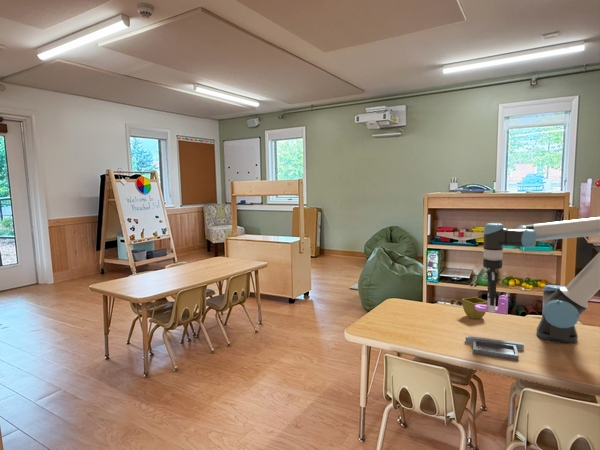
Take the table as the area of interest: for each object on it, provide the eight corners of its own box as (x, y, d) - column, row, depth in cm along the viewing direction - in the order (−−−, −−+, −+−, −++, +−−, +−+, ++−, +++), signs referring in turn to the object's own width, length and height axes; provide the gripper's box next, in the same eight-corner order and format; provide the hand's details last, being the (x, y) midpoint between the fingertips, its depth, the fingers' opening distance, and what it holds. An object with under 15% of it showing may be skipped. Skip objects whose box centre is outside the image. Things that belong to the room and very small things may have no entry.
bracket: (507, 310, 169) (508, 295, 168) (507, 314, 164) (508, 299, 163) (475, 306, 175) (476, 291, 174) (474, 310, 171) (474, 295, 170)
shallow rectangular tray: (515, 349, 158) (515, 345, 157) (518, 360, 149) (518, 355, 148) (473, 344, 164) (473, 339, 164) (473, 354, 155) (473, 349, 155)
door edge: (523, 348, 159) (523, 343, 158) (523, 350, 157) (523, 344, 157) (465, 340, 167) (465, 335, 167) (465, 342, 166) (465, 337, 165)
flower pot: (461, 315, 198) (461, 298, 197) (474, 313, 200) (475, 296, 199) (473, 321, 190) (474, 303, 188) (487, 318, 192) (488, 301, 191)
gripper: (482, 254, 177) (481, 302, 180) (484, 262, 160) (482, 315, 162) (500, 254, 174) (498, 303, 177) (504, 263, 157) (502, 317, 160)
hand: (491, 309), depth 170 cm, fingers closed on bracket, 6 cm apart
